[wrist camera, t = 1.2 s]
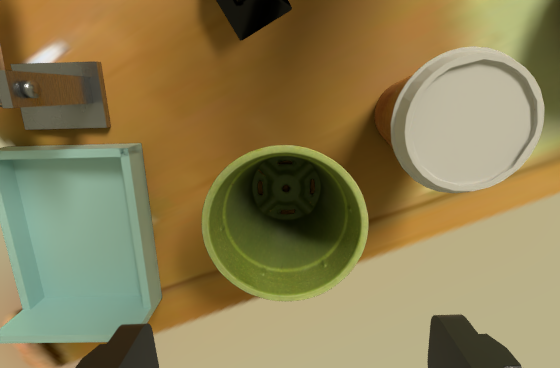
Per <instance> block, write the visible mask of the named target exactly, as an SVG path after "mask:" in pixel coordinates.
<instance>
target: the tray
mask: <svg viewBox="0 0 560 368" xmlns="http://www.w3.org/2000/svg"><path fill="white" fill-rule="evenodd" d="M0 224H1V227H2V231H3V235H4V239H5V243H6V247H7V250H8V255H9V258H10V262H11V266H12V270H13V274H14V278H15V281H16V285H17V289H18V292H19V297H20V301H21V305H22V308H23V310H22V311H21V312H20V313H18V314H17V315H16V316H15V317H14V318H12V319H11V320H10V321H9V322H8V323H6V324H5V325H4V326H3V327H1V328H0V343H70V342H108V341H109V340H110V339H111V337H112V336H113V334H114V333H115V331H116V330H117V329H118V327H119V326H120V325H122V324H147V322H148V321H149V319H150V317H151V316H152V314H153V312H154V311H155V309H156V307H157V306H158V304H159V302H160V301H161V299H162V293H161V286H160V278H159V271H158V263H157V256H156V249H155V241H154V234H153V226H152V219H151V211H150V204H149V196H148V189H147V182H146V174H145V167H144V159H143V152H142V144H141V143H129V144H89V145H49V146H9V147H3V148H0Z"/></svg>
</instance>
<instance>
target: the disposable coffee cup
mask: <svg viewBox="0 0 560 368" xmlns="http://www.w3.org/2000/svg"><path fill="white" fill-rule="evenodd" d="M543 123H544V102H543V98H542V93H541V89H540V88H539V86H538V84H537V82H536V80H535V78H534V77H533V76H532V74H531V73H530V72H529V71H528V70H527V69H526V68H525V67H524V66H523V65H521V64H520V63H518V62H517V61H515V60H514V59H513V58H511V57H510V56H508V55H506V54H504V53H503V52H500V51H497V50H494V49H491V48H486V47H463V48H459V49H455V50H451V51H448V52H445V53H443V54H441V55H439V56H437V57H435V58H433V59H431V60H430V61H428V62H427V63H426V64H424V65H423V66H422V67H421V68H419V69H418V70H417V71H416V72H415V73H414V74H413V75H412V76H409V77H408V78H406V79H404V80H402V81H400V82H397V83H395V84H394V85H392V86H390V87H389V88H388V89H387V90H386V91H385V92H384V93H383V94H382V95H381V97H380V99H379V100H378V102H377V105H376V108H375V124H376V127H377V129H378V132H379V133H380V134H381V136H382V137H383V138H384V139H385V140H386V141H387V143H388V144H389V145H390V146H391V147H392V148H393V150H394V153H395V155H396V157H397V159H398V161H399V163H400V165H401V166H402V168H403V169H404V170H405V171H406V172H407V173H408V174H409V175H410V176H411V177H412V178H413V179H414V180H415V181H417V182H418V183H420V184H422V185H423V186H425V187H427V188H430V189H433V190H436V191H439V192H447V193H462V192H470V191H476V190H480V189H484V188H488V187H491V186H493V185H495V184H497V183H499V182H502V181H503V180H505V179H506V178H507V177H509V176H510V175H512V174H513V173H514V172H515V171H517V170H518V169H519V168H520V167H521V166H522V165H523V164H524V163H525V161H526V160H527V159H528V158H529V157H530V155H531V154H532V152H533V150H534V148H535V147H536V145H537V143H538V140H539V138H540V135H541V132H542V128H543Z"/></svg>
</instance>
